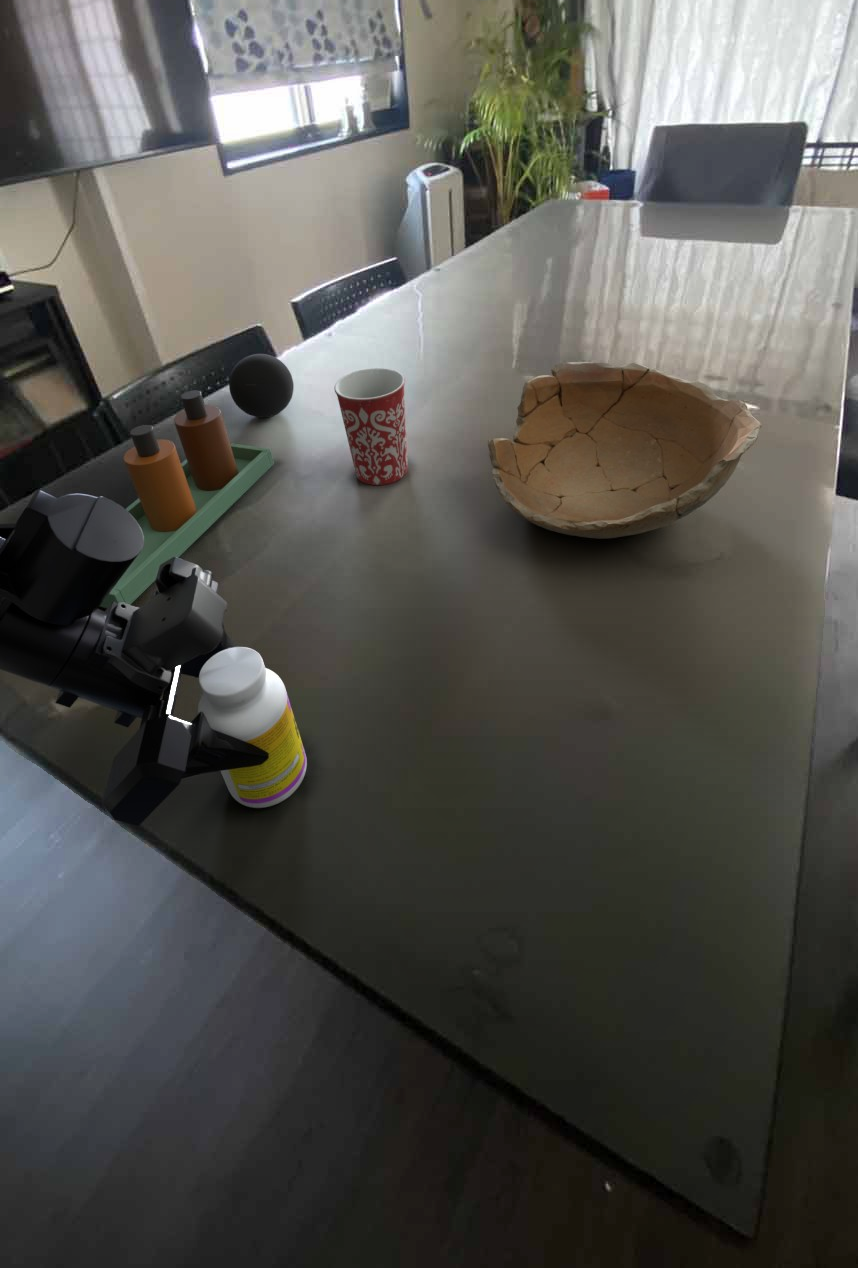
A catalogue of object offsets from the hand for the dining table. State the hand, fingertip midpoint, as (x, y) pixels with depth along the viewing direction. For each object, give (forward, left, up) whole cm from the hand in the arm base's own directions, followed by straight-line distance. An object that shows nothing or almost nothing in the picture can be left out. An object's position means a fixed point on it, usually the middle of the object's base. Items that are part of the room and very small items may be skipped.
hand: (268, 721), depth 53 cm
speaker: (+14, +66, -7) cm, 68 cm away
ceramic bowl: (+47, +19, -7) cm, 51 cm away
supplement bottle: (-1, 0, -7) cm, 7 cm away
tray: (-4, +43, -7) cm, 43 cm away
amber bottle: (-4, +43, -6) cm, 43 cm away
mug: (+25, +41, -7) cm, 49 cm away
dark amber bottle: (+3, +49, -6) cm, 50 cm away
